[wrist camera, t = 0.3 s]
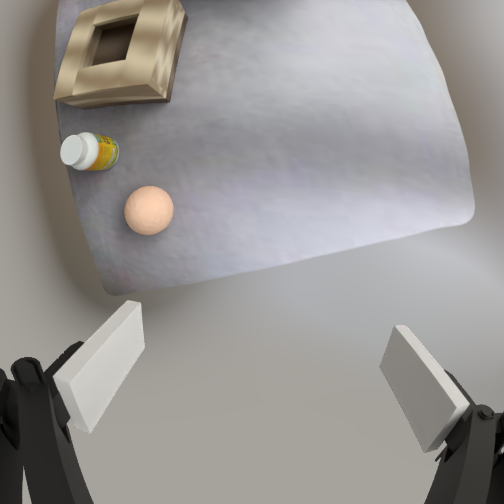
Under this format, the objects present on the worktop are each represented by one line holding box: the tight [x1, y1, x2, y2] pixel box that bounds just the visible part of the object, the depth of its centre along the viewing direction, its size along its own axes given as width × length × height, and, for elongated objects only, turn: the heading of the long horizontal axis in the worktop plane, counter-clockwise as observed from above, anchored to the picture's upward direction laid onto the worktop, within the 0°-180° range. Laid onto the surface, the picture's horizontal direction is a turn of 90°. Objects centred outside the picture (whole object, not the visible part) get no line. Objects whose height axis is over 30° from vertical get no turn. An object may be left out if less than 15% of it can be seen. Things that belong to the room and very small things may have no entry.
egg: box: [124, 186, 173, 235], centre depth 35 cm, size 7×7×8 cm
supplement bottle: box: [60, 132, 119, 170], centre depth 32 cm, size 5×5×10 cm
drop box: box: [53, 0, 188, 109], centre depth 29 cm, size 16×16×9 cm
